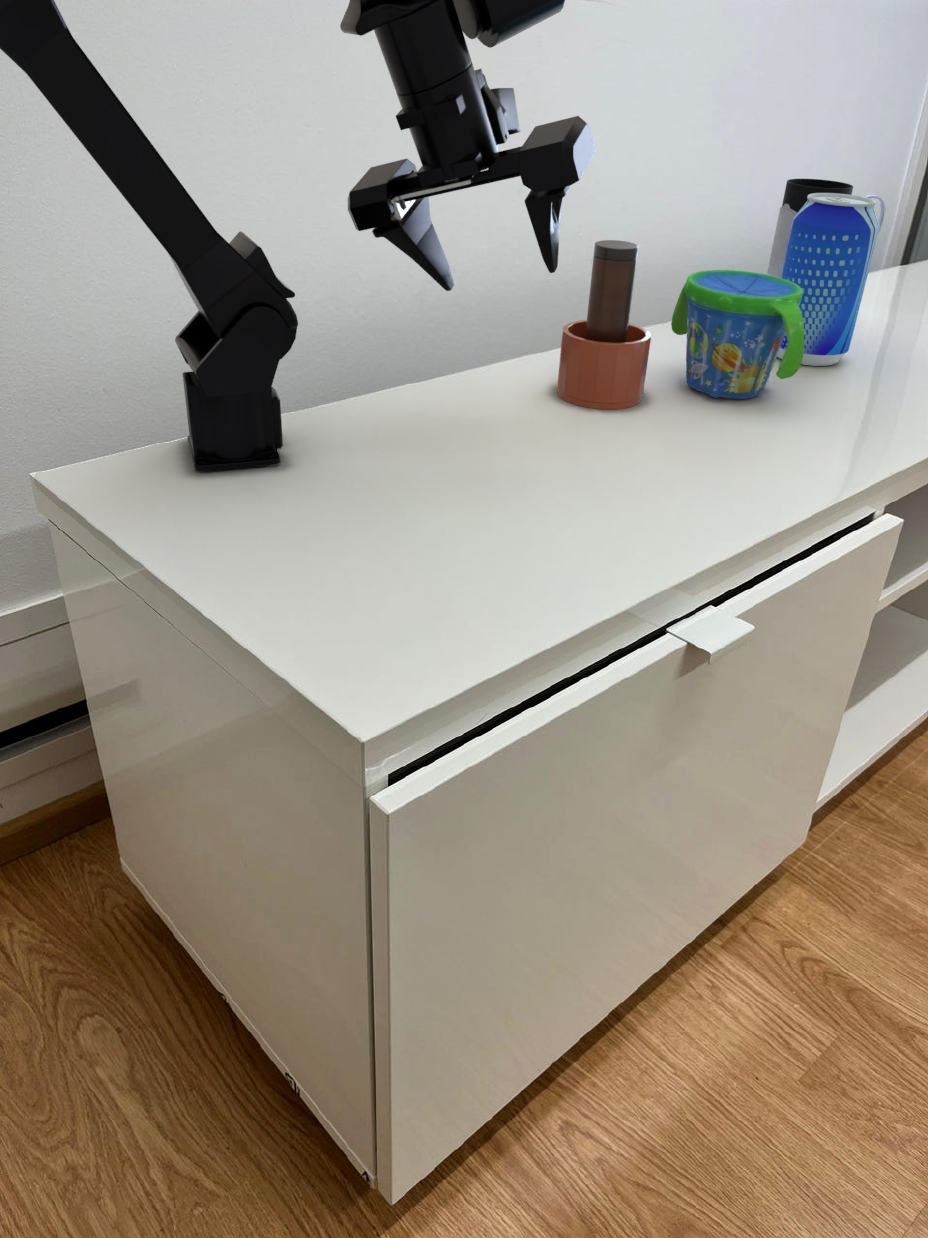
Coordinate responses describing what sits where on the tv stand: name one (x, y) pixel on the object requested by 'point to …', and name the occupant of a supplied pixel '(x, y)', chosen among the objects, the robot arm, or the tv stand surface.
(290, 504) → the tv stand surface
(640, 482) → the tv stand surface
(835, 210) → the beer can
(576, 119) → the robot arm
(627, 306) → the brown thermos bottle
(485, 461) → the tv stand surface
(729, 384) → the snack cup
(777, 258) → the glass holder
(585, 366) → the terracotta cup
